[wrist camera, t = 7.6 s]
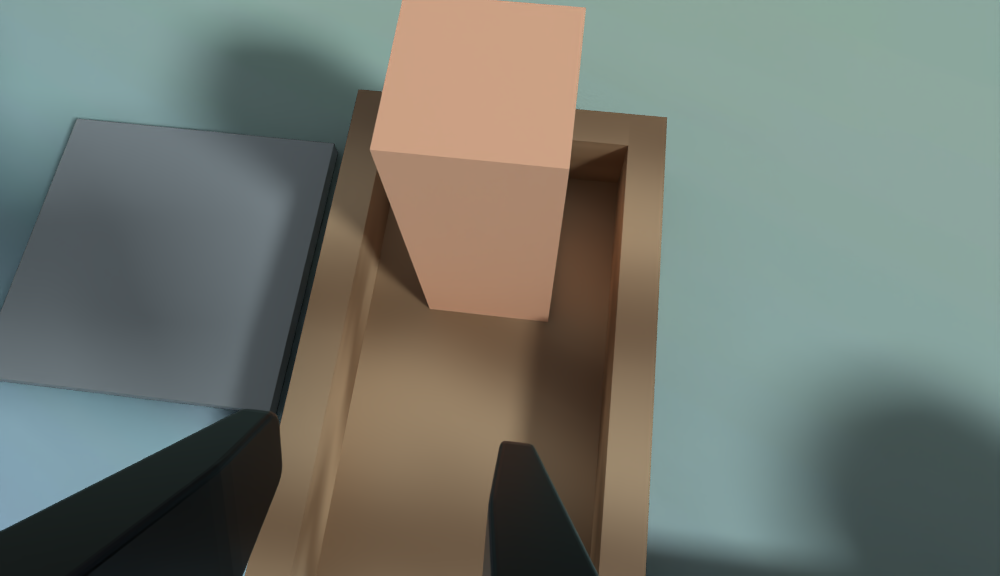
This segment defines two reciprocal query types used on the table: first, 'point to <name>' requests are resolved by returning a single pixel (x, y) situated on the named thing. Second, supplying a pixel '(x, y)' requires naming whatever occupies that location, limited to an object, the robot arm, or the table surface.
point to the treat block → (480, 148)
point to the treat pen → (472, 379)
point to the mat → (168, 265)
